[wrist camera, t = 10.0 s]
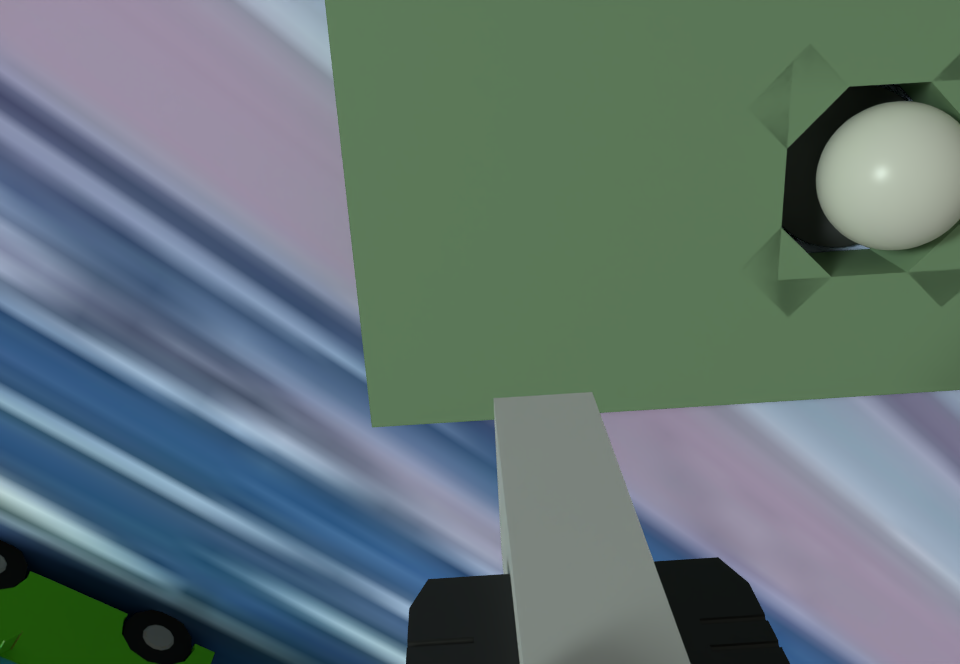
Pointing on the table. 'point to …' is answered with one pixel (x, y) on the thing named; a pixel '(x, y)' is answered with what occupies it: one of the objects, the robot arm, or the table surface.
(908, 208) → the ball
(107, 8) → the table surface
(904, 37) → the putting mat
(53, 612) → the green toy van
